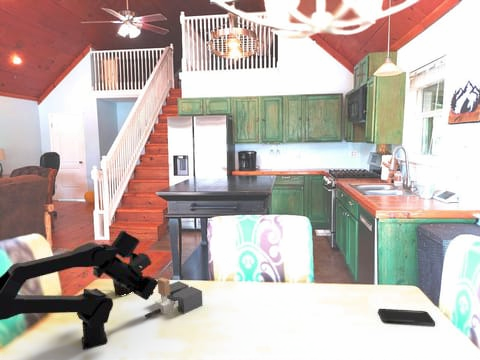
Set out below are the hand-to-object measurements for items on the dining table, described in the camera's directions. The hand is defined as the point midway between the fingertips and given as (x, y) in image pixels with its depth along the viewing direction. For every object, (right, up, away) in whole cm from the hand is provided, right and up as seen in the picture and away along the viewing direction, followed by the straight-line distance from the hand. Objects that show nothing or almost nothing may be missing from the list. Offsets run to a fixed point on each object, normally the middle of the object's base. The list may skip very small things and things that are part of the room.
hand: (152, 293), depth 110 cm
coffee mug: (-16, -6, +21) cm, 27 cm away
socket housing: (+8, -7, +9) cm, 14 cm away
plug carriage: (+1, -7, +2) cm, 8 cm away
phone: (+81, -7, -5) cm, 82 cm away
